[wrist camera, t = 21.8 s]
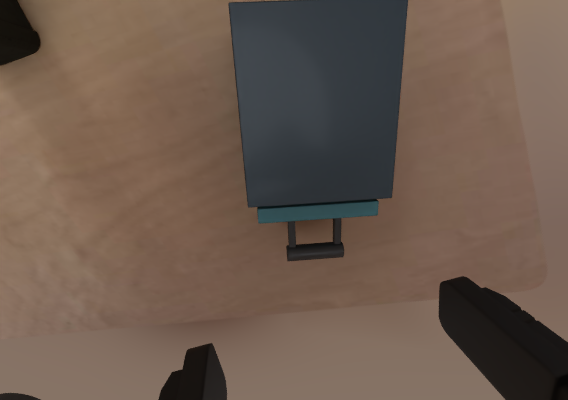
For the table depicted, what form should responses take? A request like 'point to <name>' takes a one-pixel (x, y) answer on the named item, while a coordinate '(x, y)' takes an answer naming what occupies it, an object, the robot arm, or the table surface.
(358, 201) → the drawer
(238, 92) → the dark grey drawer cabinet
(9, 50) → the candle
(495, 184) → the table surface
